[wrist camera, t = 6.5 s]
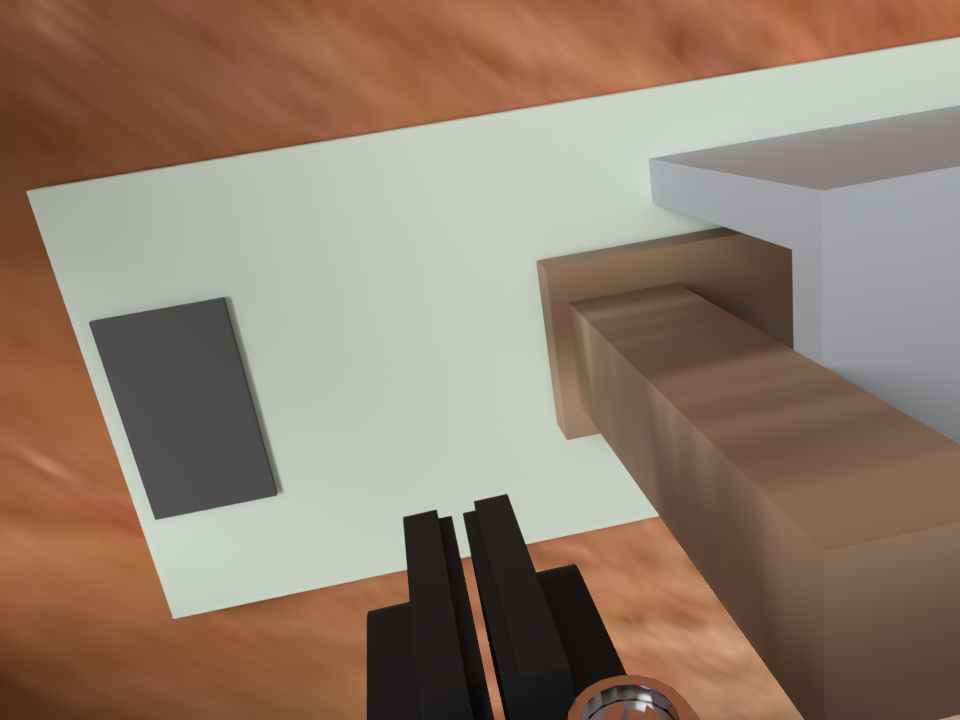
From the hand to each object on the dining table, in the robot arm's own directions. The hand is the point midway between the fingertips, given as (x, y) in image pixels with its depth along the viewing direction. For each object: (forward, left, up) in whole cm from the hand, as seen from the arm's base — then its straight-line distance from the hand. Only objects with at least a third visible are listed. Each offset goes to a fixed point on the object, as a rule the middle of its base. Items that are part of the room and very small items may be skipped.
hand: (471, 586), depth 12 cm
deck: (0, +8, -12) cm, 14 cm away
